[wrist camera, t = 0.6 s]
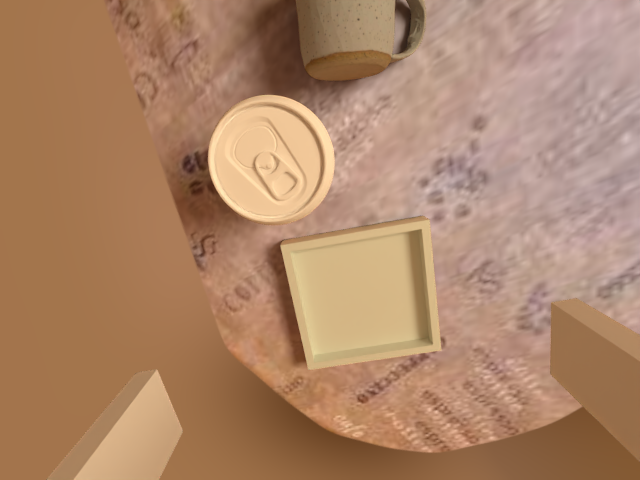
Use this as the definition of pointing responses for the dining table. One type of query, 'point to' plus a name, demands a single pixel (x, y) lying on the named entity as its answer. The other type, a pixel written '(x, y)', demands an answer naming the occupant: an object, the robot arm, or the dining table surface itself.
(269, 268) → the dining table surface
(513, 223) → the dining table surface
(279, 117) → the beverage can
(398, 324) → the holder tray
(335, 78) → the ceramic mug
